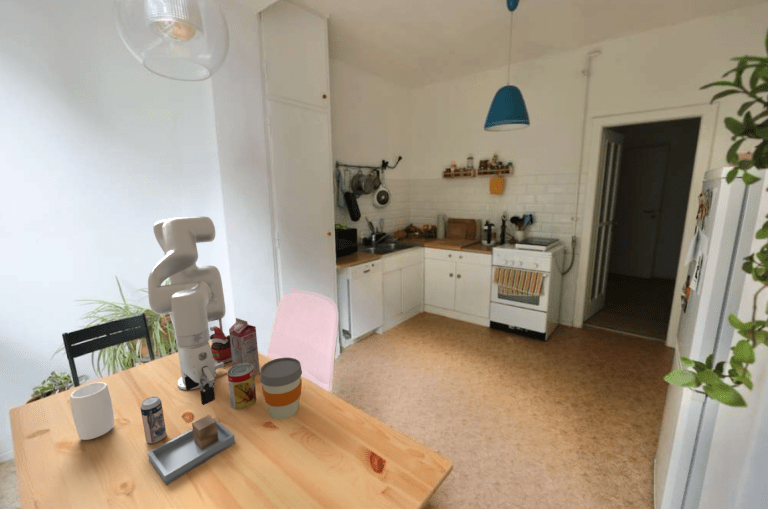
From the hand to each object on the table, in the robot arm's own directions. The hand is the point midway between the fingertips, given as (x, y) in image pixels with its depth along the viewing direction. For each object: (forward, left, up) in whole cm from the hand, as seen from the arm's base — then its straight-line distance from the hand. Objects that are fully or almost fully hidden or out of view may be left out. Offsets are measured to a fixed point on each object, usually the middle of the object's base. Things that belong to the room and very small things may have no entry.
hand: (200, 394), depth 90 cm
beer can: (+8, -13, -15) cm, 21 cm away
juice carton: (-26, -25, -15) cm, 39 cm away
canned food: (-16, -9, -15) cm, 24 cm away
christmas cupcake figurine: (-26, -43, -15) cm, 52 cm away
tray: (+4, +1, -15) cm, 15 cm away
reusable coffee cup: (-22, +5, -15) cm, 27 cm away
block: (0, +1, -14) cm, 14 cm away
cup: (+18, -29, -15) cm, 37 cm away
